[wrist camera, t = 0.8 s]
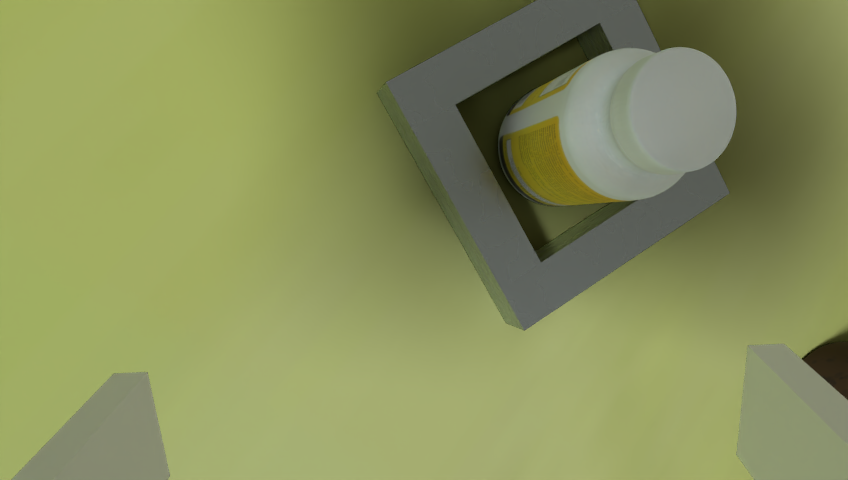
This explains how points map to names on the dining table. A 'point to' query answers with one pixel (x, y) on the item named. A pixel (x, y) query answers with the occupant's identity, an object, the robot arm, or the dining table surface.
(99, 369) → the dining table surface
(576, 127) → the pill bottle
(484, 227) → the metal collar
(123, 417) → the robot arm
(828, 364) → the olive oil
